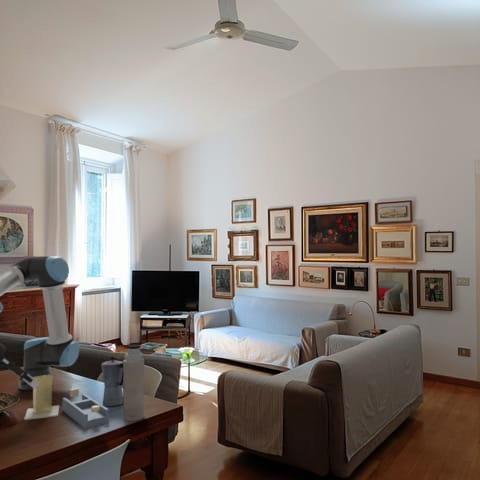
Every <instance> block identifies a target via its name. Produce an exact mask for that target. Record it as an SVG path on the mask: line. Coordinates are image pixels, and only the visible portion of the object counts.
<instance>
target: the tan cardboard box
mask: <svg viewBox="0 0 480 480" xmlns="http://www.w3.org/2000/svg"><path fill="white" fill-rule="evenodd" d="M52 377H53V375H52V376H51V375H43V376H37V377H33V378H34V379H35V380H37V381H38V382H39V383H40V384H39V385H38V386H37V387H36V388H35V389H34V388H33V390H32V408H33V413H34V414H35V415H37V414H42V413H46V412H51V411H52V406H53V405H52V403H53V401H52V399H53V385H52Z"/></svg>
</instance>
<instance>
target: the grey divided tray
mask: <svg viewBox="0 0 480 480" xmlns="http://www.w3.org/2000/svg"><path fill="white" fill-rule="evenodd" d="M79 392H80V391H79V388H78V387H76V388H72V389H71V388H70V389H69V396H70V398H75V397H79ZM109 410H110V409H109V407H107V406H103V404H101V403H100V402H99V401H97V400H95V399H93V398H92V397H90V396H89V395H88V394H86V393H82V394H81V400H76V401H70V400H69V399H68V398H66V397H63V398H62V411H63V412H64V413H65V414H66V415H67V416H68V417H70V418H71V419H72V420H73V421H75V422H76V423H77V424H79V426H81V427H82V428H83V429H89V428H93V427H96V426H102V425H105V424H109V421H110V420H109V415H110V414H109Z"/></svg>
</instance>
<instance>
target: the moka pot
mask: <svg viewBox="0 0 480 480" xmlns="http://www.w3.org/2000/svg"><path fill="white" fill-rule="evenodd" d="M100 367H101V370H102V371H101V372H102V373H101V374H102V379H103V382H104V385H103V386H104V388H103V397H102V405H103V406H104V407H116V406H122V405H123V360H115V356H111V357H110V360H108V361H103V362H102V363H101V364H100Z"/></svg>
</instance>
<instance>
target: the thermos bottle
mask: <svg viewBox="0 0 480 480" xmlns="http://www.w3.org/2000/svg"><path fill="white" fill-rule="evenodd" d="M143 357H144V356H143V353H142V352H141V344H129V345H127V352H126V353H125V355H124V358H125V359H123V360H122V362H123V385H122V393H123V404H122V420H124V421H127V422H133V421H134V422H136V421H139V420H143V418H144V417H145V398H144V394H145V359H144V358H143Z"/></svg>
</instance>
